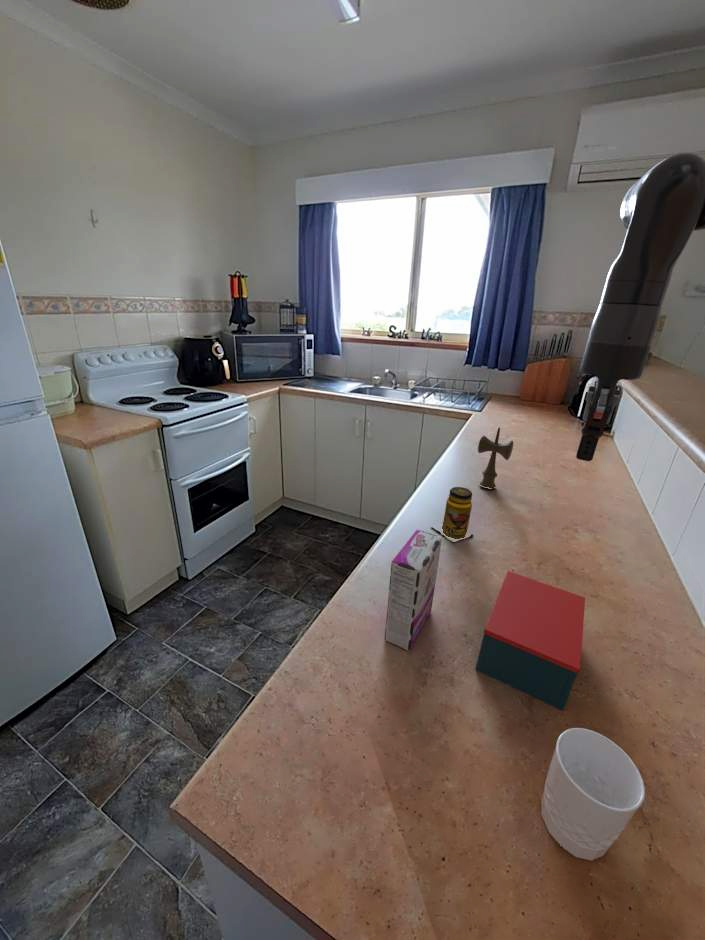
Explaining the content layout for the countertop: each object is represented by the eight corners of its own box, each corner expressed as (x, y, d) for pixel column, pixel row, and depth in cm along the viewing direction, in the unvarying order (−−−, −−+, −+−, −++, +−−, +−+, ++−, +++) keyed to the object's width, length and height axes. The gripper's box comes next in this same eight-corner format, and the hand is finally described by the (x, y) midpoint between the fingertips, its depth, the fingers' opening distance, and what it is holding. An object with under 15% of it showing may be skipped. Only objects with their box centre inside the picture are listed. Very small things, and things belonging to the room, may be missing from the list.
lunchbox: (563, 711, 57) (578, 671, 54) (475, 669, 62) (484, 631, 59) (571, 636, 70) (583, 601, 67) (498, 607, 76) (506, 574, 73)
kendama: (500, 494, 122) (514, 432, 115) (469, 486, 127) (480, 426, 119) (504, 488, 127) (518, 428, 119) (474, 480, 132) (485, 422, 124)
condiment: (453, 543, 95) (461, 499, 91) (429, 527, 102) (436, 485, 97) (474, 536, 99) (483, 493, 94) (450, 520, 106) (457, 480, 101)
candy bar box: (406, 601, 76) (416, 527, 69) (431, 612, 74) (444, 536, 67) (381, 640, 67) (390, 559, 60) (409, 653, 65) (421, 571, 58)
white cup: (571, 880, 40) (600, 822, 36) (519, 793, 47) (540, 737, 43) (631, 854, 42) (665, 797, 38) (573, 775, 49) (597, 720, 45)
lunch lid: (578, 674, 53) (580, 669, 53) (483, 633, 59) (484, 629, 58) (583, 601, 67) (585, 597, 67) (506, 574, 73) (507, 570, 72)
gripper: (657, 346, 47) (612, 479, 54) (647, 341, 58) (611, 452, 64) (586, 340, 51) (552, 466, 57) (589, 336, 61) (560, 442, 68)
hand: (583, 458), depth 61 cm, fingers closed
